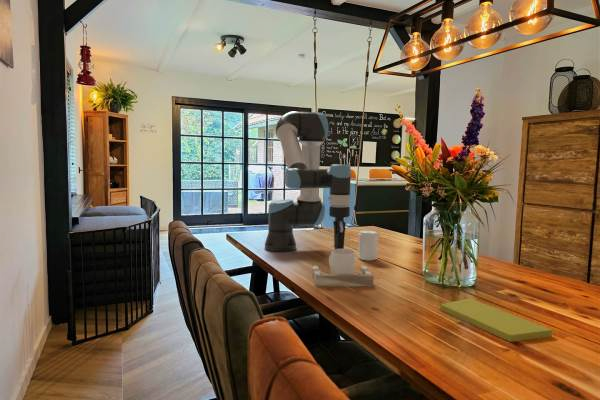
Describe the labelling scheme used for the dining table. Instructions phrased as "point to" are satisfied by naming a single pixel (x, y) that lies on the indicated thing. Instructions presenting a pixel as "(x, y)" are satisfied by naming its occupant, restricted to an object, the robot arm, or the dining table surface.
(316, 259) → the dining table surface
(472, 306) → the flat olive board
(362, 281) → the dock
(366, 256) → the beverage can
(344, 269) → the mug
